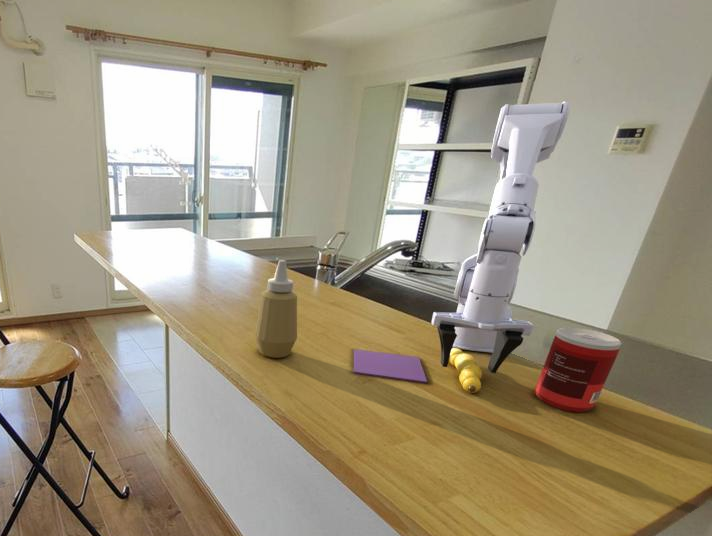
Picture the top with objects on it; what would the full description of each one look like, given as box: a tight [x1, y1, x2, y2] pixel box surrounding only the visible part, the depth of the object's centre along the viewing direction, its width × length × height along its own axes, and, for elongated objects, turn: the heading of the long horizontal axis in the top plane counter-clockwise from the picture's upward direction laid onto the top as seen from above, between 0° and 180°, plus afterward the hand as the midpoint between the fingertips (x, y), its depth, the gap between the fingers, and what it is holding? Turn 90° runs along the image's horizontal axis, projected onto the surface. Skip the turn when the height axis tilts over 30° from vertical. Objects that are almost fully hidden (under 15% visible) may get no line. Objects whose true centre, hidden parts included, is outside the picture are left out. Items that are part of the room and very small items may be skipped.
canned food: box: [535, 327, 622, 413], centre depth 66 cm, size 8×8×11 cm
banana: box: [449, 348, 483, 394], centre depth 75 cm, size 4×17×3 cm, turn 163°
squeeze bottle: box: [254, 259, 298, 359], centre depth 80 cm, size 8×8×18 cm
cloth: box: [353, 348, 428, 384], centre depth 79 cm, size 12×11×1 cm
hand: (467, 367), depth 75 cm, fingers open, 7 cm apart
